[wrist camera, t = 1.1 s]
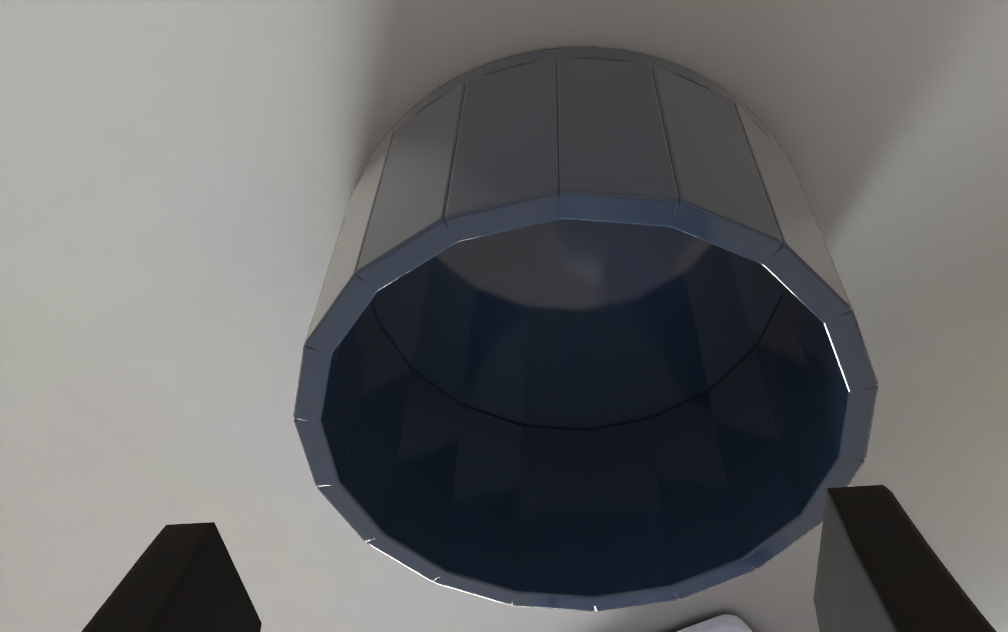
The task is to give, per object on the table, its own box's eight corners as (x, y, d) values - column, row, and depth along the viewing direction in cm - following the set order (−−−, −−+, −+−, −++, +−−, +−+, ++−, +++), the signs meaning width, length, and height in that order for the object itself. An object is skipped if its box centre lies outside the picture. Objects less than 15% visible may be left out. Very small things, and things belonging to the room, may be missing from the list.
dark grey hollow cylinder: (882, 306, 22) (968, 490, 17) (519, 478, 25) (514, 663, 21) (655, -65, 17) (693, 60, 12) (250, 217, 21) (172, 388, 16)
